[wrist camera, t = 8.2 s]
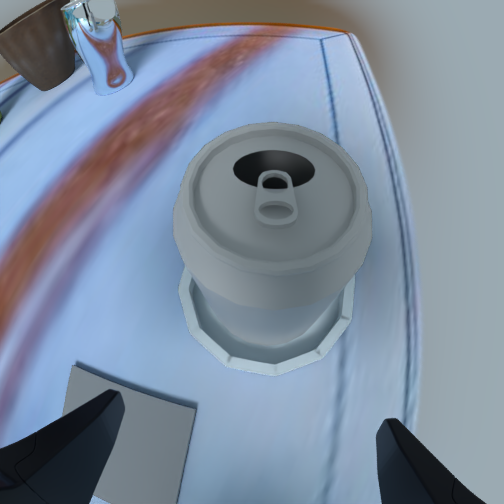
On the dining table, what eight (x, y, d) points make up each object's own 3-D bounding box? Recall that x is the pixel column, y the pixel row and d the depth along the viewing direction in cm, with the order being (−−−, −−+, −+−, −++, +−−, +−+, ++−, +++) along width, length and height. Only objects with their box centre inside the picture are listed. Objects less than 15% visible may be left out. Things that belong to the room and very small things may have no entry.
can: (319, 243, 22) (363, 113, 11) (324, 346, 18) (408, 292, 8) (216, 242, 22) (180, 110, 11) (209, 345, 19) (139, 290, 8)
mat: (172, 524, 13) (171, 526, 13) (58, 472, 14) (55, 473, 14) (196, 409, 17) (195, 409, 17) (75, 365, 18) (72, 365, 18)
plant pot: (10, 112, 35) (-25, 50, 20) (50, 66, 41) (26, 10, 26) (66, 95, 34) (30, 15, 19) (105, 50, 40) (84, -18, 26)
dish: (335, 385, 18) (342, 385, 16) (169, 353, 19) (161, 350, 17) (351, 235, 22) (357, 223, 21) (209, 211, 24) (206, 198, 22)
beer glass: (146, 72, 34) (123, -17, 21) (112, 100, 32) (77, 5, 18) (116, 69, 36) (91, -9, 22) (83, 95, 33) (49, 13, 20)
